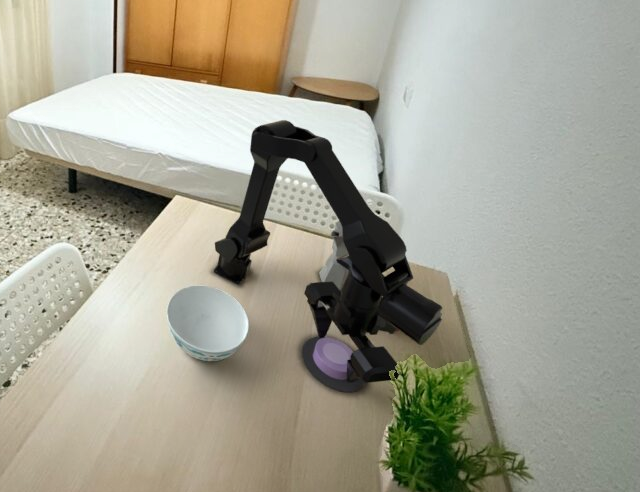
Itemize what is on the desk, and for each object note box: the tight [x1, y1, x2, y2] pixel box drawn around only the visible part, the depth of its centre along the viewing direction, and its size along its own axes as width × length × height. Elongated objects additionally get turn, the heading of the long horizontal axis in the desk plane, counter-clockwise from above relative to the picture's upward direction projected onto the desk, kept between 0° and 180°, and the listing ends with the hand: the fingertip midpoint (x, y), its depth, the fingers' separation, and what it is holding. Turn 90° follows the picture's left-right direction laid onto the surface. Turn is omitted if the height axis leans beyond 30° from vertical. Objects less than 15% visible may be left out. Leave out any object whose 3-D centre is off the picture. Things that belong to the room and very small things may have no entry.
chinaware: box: [166, 284, 250, 362], centre depth 76 cm, size 15×15×8 cm
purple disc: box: [313, 337, 354, 380], centre depth 74 cm, size 7×7×2 cm
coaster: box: [301, 336, 366, 393], centre depth 75 cm, size 11×11×1 cm
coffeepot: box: [319, 220, 348, 290], centre depth 90 cm, size 15×9×18 cm, turn 101°
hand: (334, 358), depth 74 cm, fingers open, 9 cm apart
